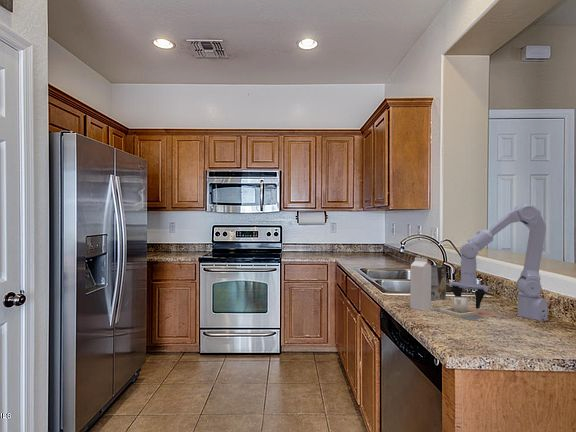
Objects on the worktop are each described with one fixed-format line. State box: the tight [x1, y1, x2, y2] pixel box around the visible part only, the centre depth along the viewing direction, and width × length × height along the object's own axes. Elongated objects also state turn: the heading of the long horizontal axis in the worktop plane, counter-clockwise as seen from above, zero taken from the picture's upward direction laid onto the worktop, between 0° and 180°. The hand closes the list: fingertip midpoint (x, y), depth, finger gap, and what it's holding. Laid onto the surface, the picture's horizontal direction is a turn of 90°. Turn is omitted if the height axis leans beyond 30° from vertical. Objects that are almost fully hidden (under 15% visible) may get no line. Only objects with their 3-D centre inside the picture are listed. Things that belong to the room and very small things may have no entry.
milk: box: [409, 257, 432, 312], centre depth 163 cm, size 6×6×22 cm
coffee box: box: [430, 264, 447, 302], centre depth 184 cm, size 9×6×16 cm
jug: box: [453, 295, 468, 314], centre depth 156 cm, size 10×5×6 cm, turn 141°
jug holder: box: [432, 306, 502, 321], centre depth 156 cm, size 18×19×2 cm
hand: (468, 306), depth 157 cm, fingers open, 7 cm apart
